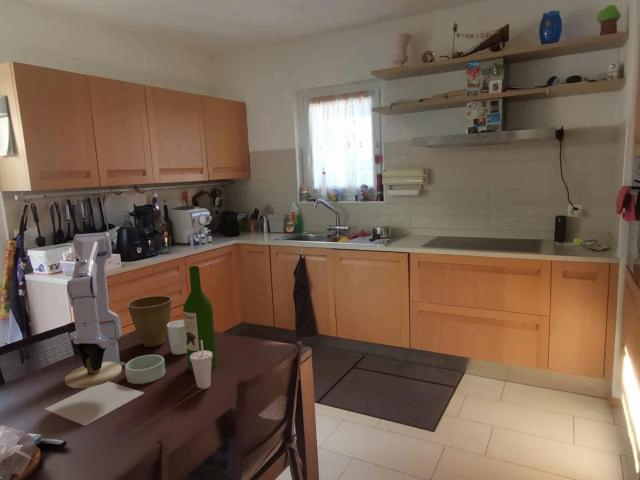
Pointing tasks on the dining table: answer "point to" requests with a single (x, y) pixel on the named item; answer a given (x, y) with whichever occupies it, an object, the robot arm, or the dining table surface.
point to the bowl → (145, 369)
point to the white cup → (177, 337)
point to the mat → (94, 402)
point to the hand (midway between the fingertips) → (93, 367)
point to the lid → (93, 375)
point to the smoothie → (202, 367)
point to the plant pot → (151, 318)
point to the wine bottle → (198, 320)
